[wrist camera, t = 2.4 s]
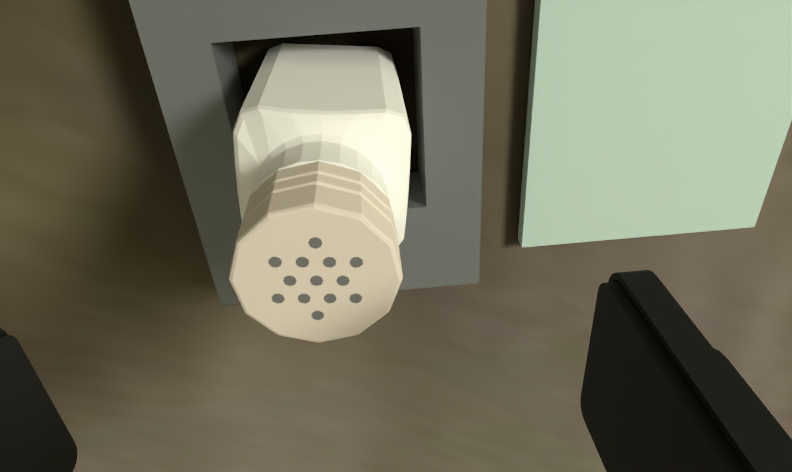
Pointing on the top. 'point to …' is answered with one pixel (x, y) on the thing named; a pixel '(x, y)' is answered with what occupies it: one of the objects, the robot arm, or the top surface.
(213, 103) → the frame
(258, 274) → the salt shaker
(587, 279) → the top surface
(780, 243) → the top surface
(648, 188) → the mat
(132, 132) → the top surface
